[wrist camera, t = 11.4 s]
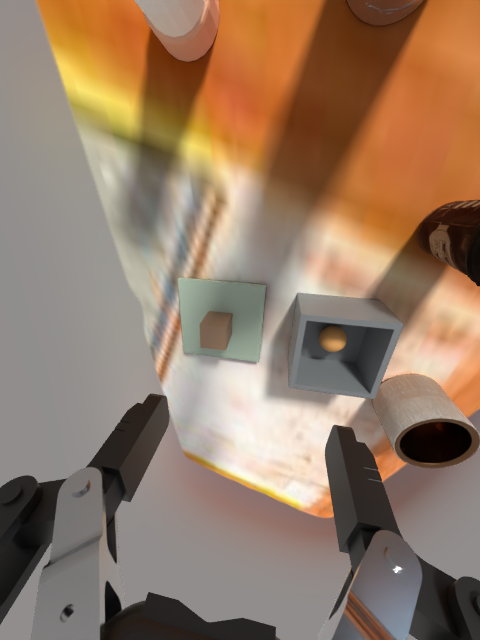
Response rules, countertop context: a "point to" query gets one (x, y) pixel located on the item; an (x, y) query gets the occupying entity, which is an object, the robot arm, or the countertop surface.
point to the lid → (221, 318)
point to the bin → (357, 355)
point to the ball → (332, 338)
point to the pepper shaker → (183, 25)
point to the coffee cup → (454, 236)
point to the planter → (424, 422)
